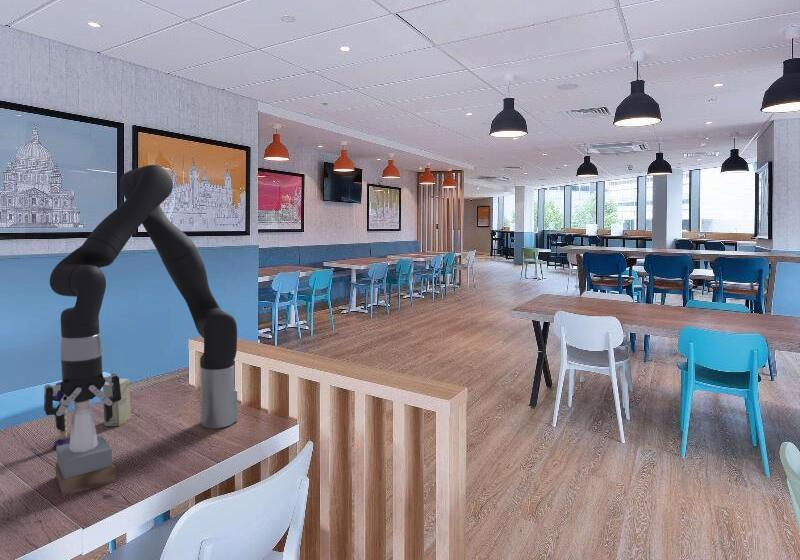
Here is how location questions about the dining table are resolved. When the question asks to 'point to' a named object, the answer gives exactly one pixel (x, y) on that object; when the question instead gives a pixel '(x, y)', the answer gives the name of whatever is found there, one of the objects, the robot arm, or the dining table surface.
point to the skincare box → (119, 403)
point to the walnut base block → (85, 480)
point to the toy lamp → (63, 435)
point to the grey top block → (83, 459)
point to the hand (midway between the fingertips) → (85, 425)
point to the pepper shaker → (82, 428)
